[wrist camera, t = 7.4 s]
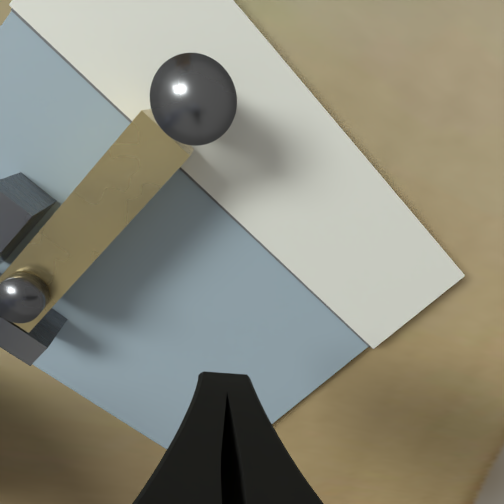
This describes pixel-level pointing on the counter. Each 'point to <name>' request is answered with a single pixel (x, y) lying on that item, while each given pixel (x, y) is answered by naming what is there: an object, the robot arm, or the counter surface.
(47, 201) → the keeper
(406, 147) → the counter surface
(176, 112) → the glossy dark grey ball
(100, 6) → the door panel
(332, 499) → the counter surface
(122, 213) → the swing bar
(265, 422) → the robot arm
